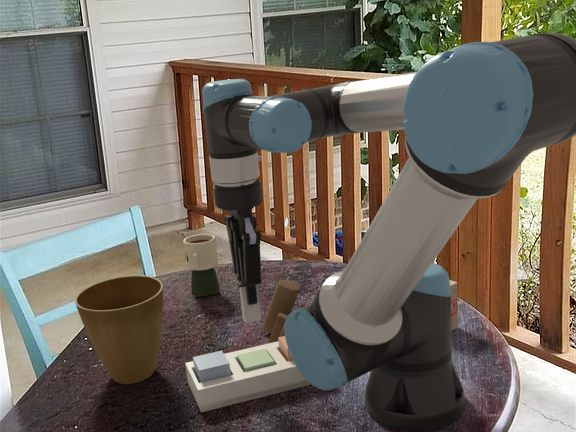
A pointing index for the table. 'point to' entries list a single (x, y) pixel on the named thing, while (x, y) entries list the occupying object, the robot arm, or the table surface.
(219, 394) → the key console
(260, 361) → the sage key
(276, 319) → the wooden block set
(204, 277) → the character mug
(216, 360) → the blue key
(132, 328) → the plant pot
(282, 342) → the terracotta key
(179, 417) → the table surface
